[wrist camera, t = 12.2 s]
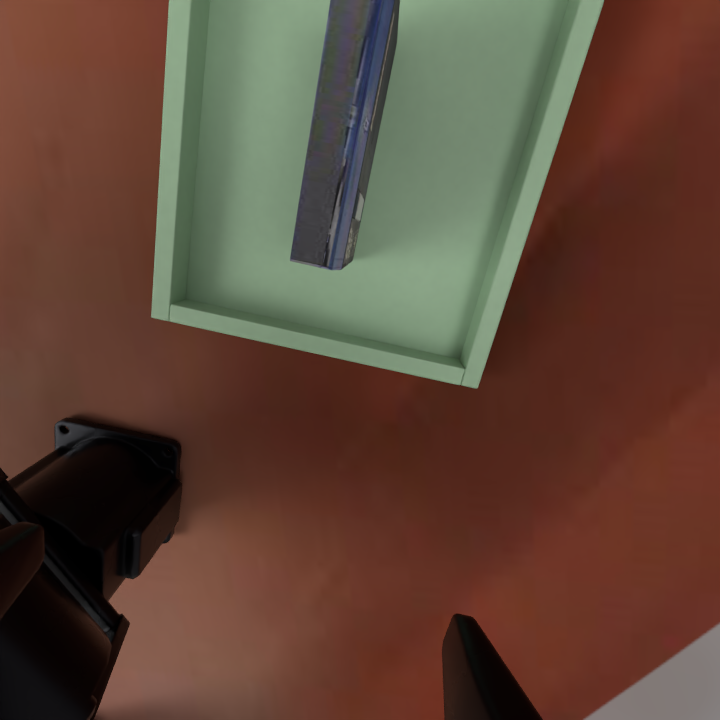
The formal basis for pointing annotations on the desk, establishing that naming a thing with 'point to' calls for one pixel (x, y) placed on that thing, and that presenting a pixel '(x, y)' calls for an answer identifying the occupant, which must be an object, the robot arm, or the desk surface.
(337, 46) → the mini dv tape
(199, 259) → the tray
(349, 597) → the desk surface
